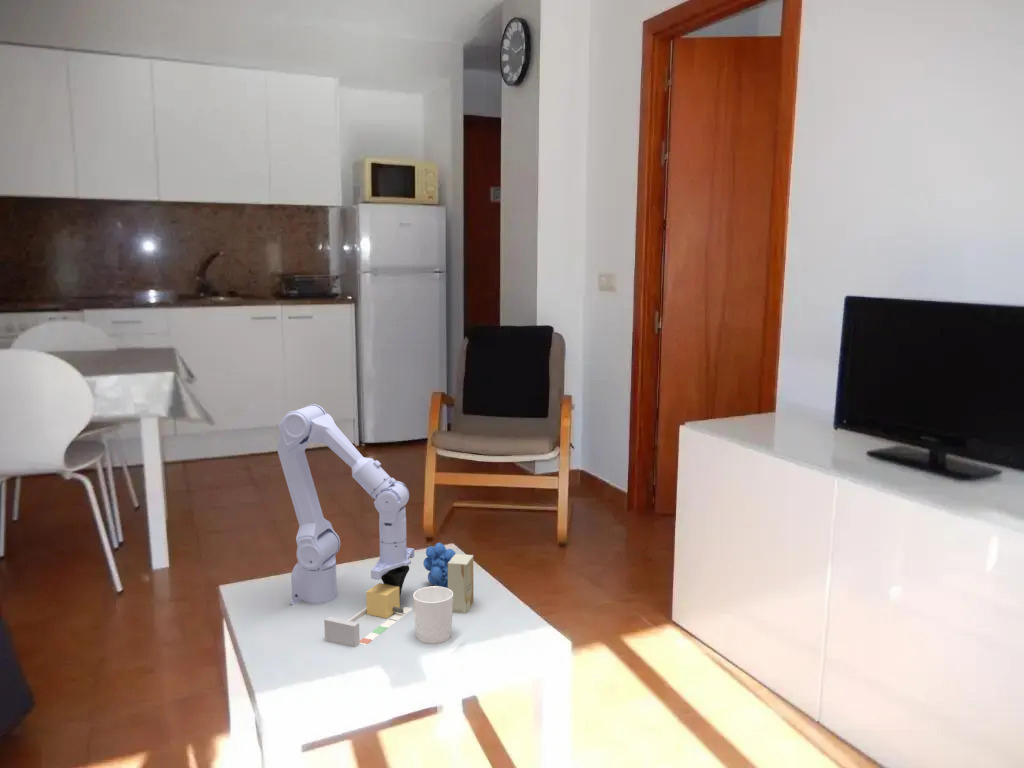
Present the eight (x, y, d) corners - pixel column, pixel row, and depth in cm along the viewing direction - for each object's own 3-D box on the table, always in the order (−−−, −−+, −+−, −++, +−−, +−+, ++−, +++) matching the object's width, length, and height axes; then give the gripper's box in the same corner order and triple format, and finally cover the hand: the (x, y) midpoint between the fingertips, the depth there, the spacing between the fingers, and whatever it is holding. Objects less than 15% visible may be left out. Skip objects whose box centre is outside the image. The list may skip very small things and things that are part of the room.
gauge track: (314, 646, 150) (314, 619, 149) (376, 602, 170) (376, 578, 169) (362, 657, 146) (361, 629, 145) (419, 611, 166) (419, 586, 165)
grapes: (412, 595, 174) (411, 544, 173) (431, 585, 180) (430, 536, 178) (452, 607, 168) (452, 555, 166) (471, 596, 173) (470, 546, 172)
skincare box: (466, 620, 162) (466, 564, 160) (447, 618, 163) (446, 563, 161) (474, 607, 168) (474, 554, 166) (455, 605, 169) (455, 552, 167)
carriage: (366, 614, 161) (366, 591, 160) (379, 604, 166) (379, 582, 165) (396, 620, 158) (395, 597, 158) (408, 610, 163) (408, 588, 162)
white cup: (414, 633, 156) (413, 586, 154) (453, 631, 156) (452, 585, 155) (412, 652, 148) (412, 603, 147) (453, 650, 149) (453, 601, 147)
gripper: (391, 553, 156) (392, 615, 158) (425, 531, 169) (426, 589, 171) (361, 548, 159) (363, 610, 161) (398, 527, 172) (399, 584, 174)
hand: (394, 599), depth 166 cm, fingers closed
